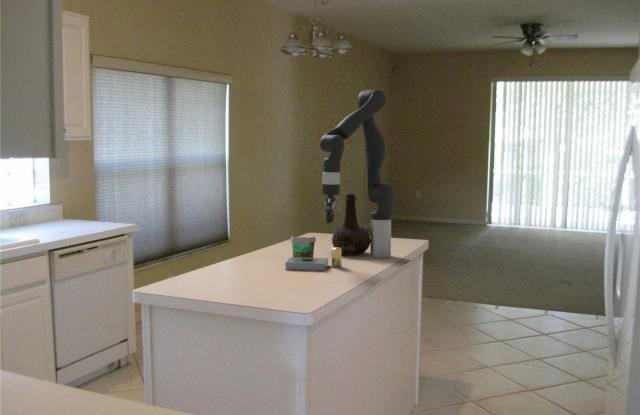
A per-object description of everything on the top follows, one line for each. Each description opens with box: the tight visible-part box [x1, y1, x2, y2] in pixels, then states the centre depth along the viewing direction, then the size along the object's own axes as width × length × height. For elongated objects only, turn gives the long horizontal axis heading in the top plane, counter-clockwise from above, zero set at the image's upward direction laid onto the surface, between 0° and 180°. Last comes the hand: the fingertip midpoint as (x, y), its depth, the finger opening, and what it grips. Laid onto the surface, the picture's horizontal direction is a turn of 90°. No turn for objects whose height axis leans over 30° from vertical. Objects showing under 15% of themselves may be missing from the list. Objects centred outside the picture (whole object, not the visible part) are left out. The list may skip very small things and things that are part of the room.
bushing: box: [331, 246, 343, 269], centre depth 267 cm, size 4×4×8 cm
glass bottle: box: [331, 193, 371, 256], centre depth 297 cm, size 18×18×28 cm
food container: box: [289, 234, 317, 258], centre depth 284 cm, size 12×6×10 cm, turn 62°
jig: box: [285, 256, 329, 272], centre depth 266 cm, size 16×12×3 cm
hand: (330, 221), depth 267 cm, fingers open, 8 cm apart
